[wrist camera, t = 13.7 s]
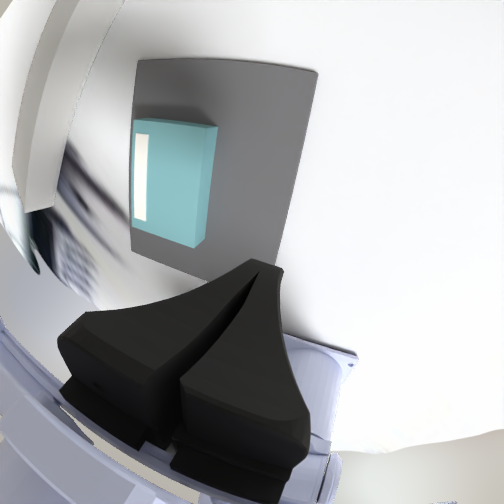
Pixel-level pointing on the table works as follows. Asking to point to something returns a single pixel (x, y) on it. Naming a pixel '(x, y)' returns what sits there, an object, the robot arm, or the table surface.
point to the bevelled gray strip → (56, 94)
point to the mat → (230, 153)
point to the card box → (172, 178)
